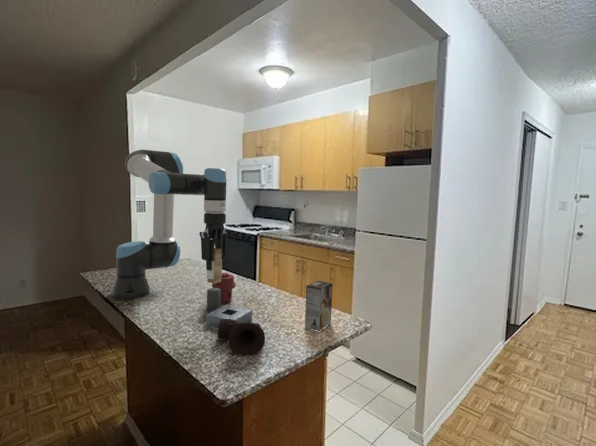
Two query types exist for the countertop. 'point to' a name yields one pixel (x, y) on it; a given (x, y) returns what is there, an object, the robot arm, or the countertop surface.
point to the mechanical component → (225, 287)
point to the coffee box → (318, 305)
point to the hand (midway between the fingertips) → (214, 277)
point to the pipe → (242, 336)
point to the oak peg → (216, 266)
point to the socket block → (228, 315)
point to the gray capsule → (213, 299)
